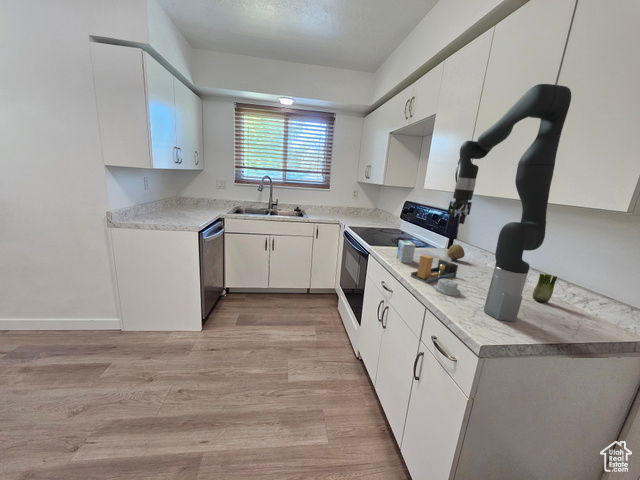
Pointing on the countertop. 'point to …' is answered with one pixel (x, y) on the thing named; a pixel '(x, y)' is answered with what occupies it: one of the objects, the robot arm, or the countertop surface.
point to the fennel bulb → (544, 288)
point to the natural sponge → (456, 252)
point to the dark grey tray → (433, 279)
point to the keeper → (447, 267)
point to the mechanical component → (447, 287)
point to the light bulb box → (405, 251)
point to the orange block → (425, 267)
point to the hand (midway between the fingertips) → (456, 224)
